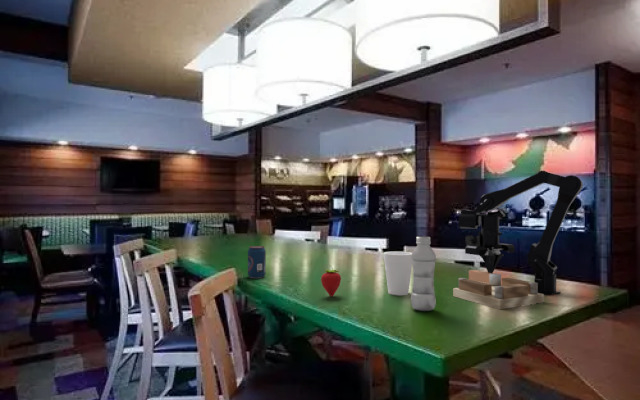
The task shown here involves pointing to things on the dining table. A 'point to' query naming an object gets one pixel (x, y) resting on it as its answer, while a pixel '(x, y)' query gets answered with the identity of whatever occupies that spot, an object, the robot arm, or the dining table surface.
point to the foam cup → (398, 272)
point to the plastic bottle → (423, 275)
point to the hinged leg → (485, 277)
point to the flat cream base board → (499, 293)
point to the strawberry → (331, 281)
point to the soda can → (256, 262)
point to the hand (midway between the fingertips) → (490, 273)
